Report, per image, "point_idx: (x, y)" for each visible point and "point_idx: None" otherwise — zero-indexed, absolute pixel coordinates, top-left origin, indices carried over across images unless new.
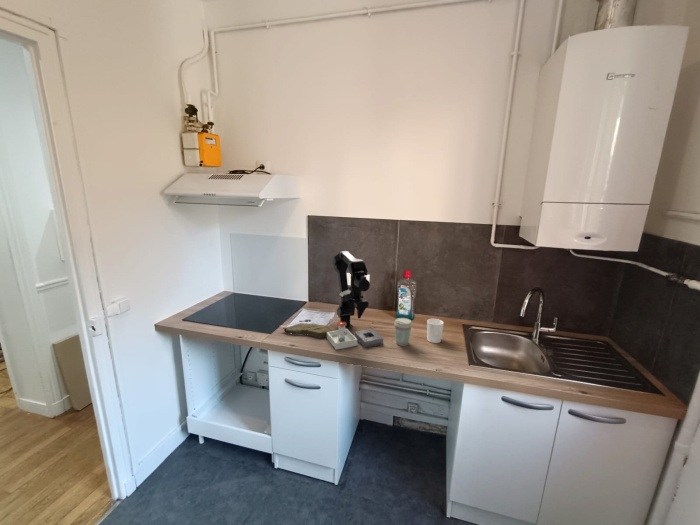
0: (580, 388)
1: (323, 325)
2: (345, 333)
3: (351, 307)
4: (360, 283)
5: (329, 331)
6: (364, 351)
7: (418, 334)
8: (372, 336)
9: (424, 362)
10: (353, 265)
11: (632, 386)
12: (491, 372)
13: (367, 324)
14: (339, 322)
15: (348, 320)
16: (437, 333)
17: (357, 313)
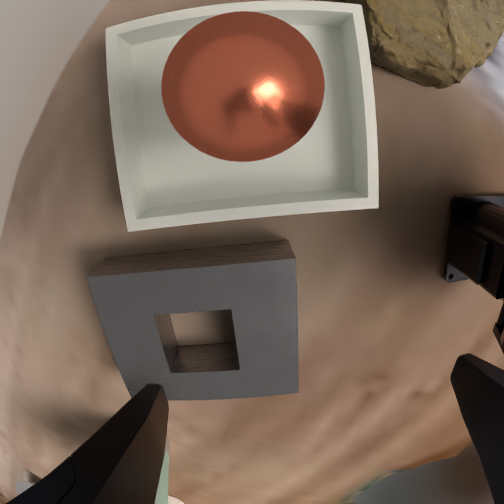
0: (7, 499)
1: (482, 47)
2: (353, 182)
3: (500, 398)
4: None
5: (374, 34)
6: (61, 238)
7: (216, 494)
8: (210, 358)
9: (9, 412)
10: None
11: None
12: (11, 472)
13: (421, 369)
14: (273, 50)
15: (476, 268)
16: None
17: (106, 448)
